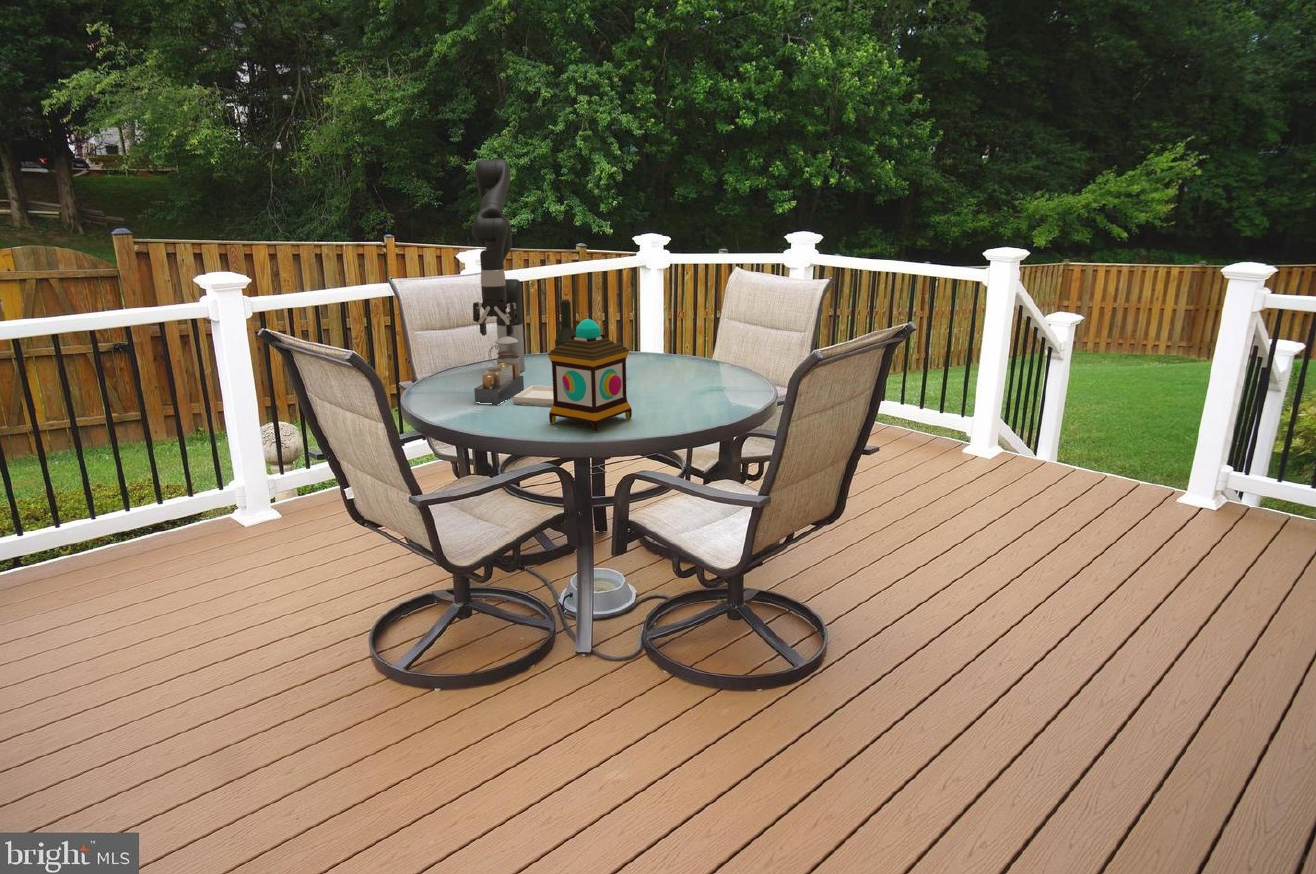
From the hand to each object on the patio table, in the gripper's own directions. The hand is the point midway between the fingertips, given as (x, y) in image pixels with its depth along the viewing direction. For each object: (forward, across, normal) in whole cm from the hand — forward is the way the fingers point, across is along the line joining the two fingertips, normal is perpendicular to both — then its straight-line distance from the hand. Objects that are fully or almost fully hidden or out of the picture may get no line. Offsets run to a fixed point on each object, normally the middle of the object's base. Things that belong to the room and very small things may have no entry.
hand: (496, 335), depth 277 cm
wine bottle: (+20, -18, -15) cm, 31 cm away
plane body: (+20, 0, 0) cm, 20 cm away
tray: (+20, -15, 0) cm, 25 cm away
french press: (+20, +8, -23) cm, 32 cm away
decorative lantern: (+20, -38, +21) cm, 48 cm away
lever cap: (+15, 0, 0) cm, 15 cm away
